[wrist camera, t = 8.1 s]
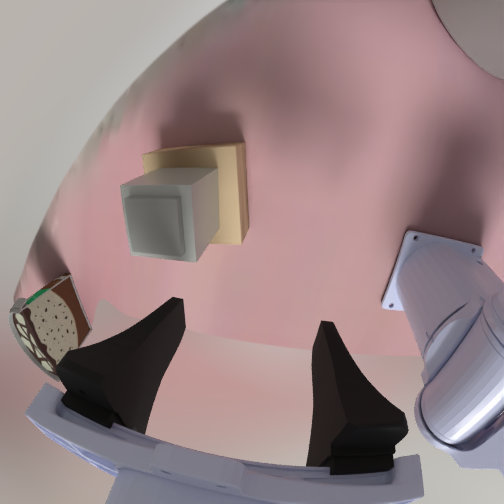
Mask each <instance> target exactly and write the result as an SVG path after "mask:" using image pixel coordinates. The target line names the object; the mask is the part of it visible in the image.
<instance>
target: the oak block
mask: <svg viewBox="0 0 504 504" xmlns="http://www.w3.org/2000/svg"><path fill="white" fill-rule="evenodd" d="M142 158H143V166H144V174H147V173H149V172H151V171H154V170H156V169H158V168H218V185H219V227H220V229H219V230H218V232H217V233H216V234H215V236H214V237H213V239H212V240H211V242H210V244H240V245H242V242H243V240H244V238H245V236H246V234H247V231H248V229H249V214H248V193H247V171H246V150H245V142H238V143H219V144H204V145H192V146H182V147H172V148H164V149H159V150H156V151H152V152H149V153H146V154H143V155H142Z"/></svg>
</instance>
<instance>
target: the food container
mask: <svg viewBox="0 0 504 504" xmlns="http://www.w3.org/2000/svg"><path fill="white" fill-rule="evenodd" d="M8 322H9V326H10V329H11V331H12V333H13V335H14V337H15V339H16V341H17V342H18V344H19V345H20V346H21V348H22V349H23V351H24V352H25V353H26V355H27V356H28V357H29V358H30V359H31V360H32V361H33V362H34V363H35V364H36V365H37V366H38V367H39V368H40V369H41V370H42V371H43V372H44V373H46V374H47V375H48V376H50V377H51V378H53V379H54V380H56V381H58V382H59V381H60V379H59V377H58V375H57V373H56V369H55V368H56V366H57V364H58V363H59V362H60V360H61V359H62V358H63V356H64V355H65V354H66V353H67V351H69V350H74V349H78V348H80V347H81V345H82V344H83V343H84V341H85V340H86V338H87V337H88V335H89V334H90V332H91V331H92V327H91V325H90V323H89V320H88V318H87V316H86V313H85V311H84V308H83V306H82V303H81V300H80V298H79V295H78V292H77V290H76V287H75V284H74V281H73V278H72V275H71V274H67V273H65V274H63V275H61V276H59V277H58V278H56V279H55V280H53V281H52V282H50V283H49V284H47V285H46V286H45V287H43V288H42V289H40V290H39V291H38V292H36V293H35V294H33V295H32V296H31V297H29V298H28V299H25V298H19V299H17V301H16V302H15V304H14V305H13V307H12V308H11V310H10V313H9V315H8Z"/></svg>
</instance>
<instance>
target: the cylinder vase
mask: <svg viewBox="0 0 504 504" xmlns="http://www.w3.org/2000/svg"><path fill="white" fill-rule="evenodd" d="M432 2H433V5H434V7H435V9H436V12H437V14H438V16H439V18H440V19H441V21H442V23H443V25H444V26H445V28H446V29H447V31H448V32H449V34H450V35H451V37H452V38H453V39H454V41H455V42H456V43H457V44H458V46H459V47H460V48H461V49H462V50H463V51H464V52H465V53H466V55H467V56H468V57H469V58H470V59H471V60H473V61H474V62H475V63H476V64H477V65H478V66H479V67H481V68H482V69H483V70H485V71H486V72H488V73H489V74H491V75H493V76H494V77H496V78H499V79H501V80H504V0H432Z"/></svg>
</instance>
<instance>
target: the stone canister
mask: <svg viewBox="0 0 504 504" xmlns="http://www.w3.org/2000/svg"><path fill="white" fill-rule="evenodd" d="M120 188H121V196H122V204H123V211H124V218H125V224H126V231H127V236H128V242H129V248H130V253H131V255H134V256H143V257H151V258H160V259H169V260H179V261H188V262H197V261H198V259H199V258H200V256H201V255H202V254H203V252H204V251H205V249H206V248H207V246H208V245H209V243H210V242H211V240H212V239H213V237H214V236H215V234H216V233H217V232H218V230H219V229H220V227H219V185H218V168H158V169H156V170H154V171H151V172H149V173H147V174H144V175H142V176H140V177H138V178H135V179H133V180H131V181H129V182H127V183H124V184H122V185H120Z"/></svg>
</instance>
